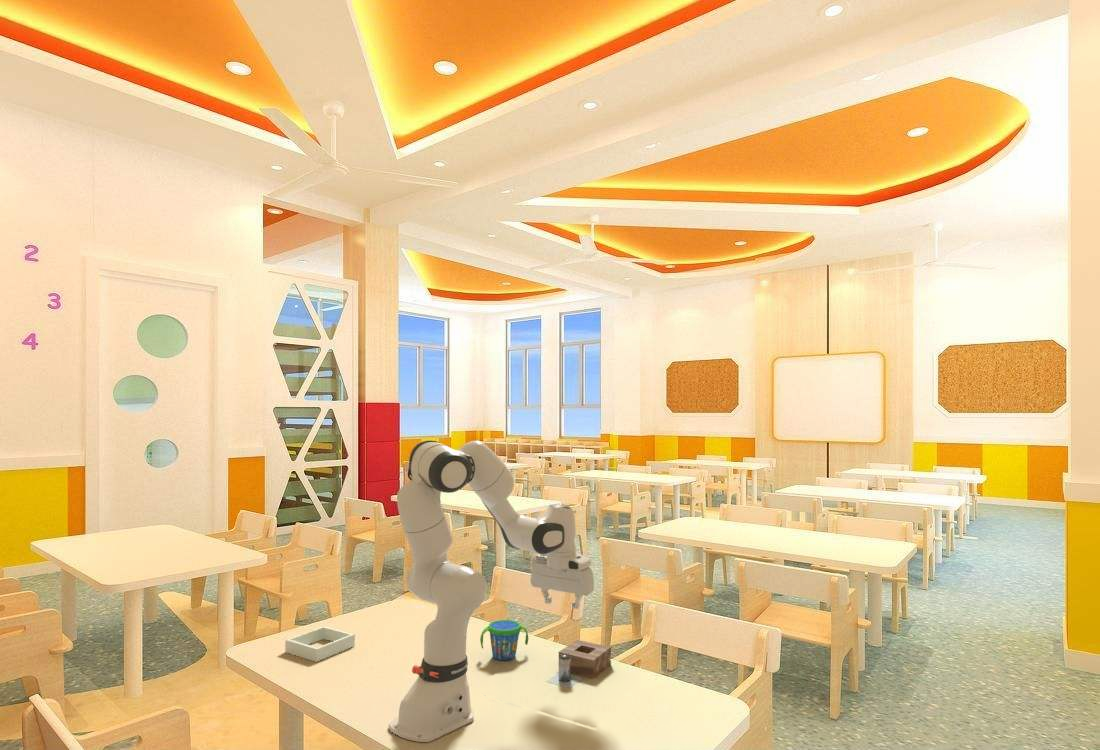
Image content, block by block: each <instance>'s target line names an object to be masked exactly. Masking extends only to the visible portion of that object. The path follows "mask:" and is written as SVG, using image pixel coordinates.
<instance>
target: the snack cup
mask: <svg viewBox="0 0 1100 750" xmlns="http://www.w3.org/2000/svg"><path fill="white" fill-rule="evenodd" d="M522 629H523V630H524V632H525V641H524V643H525V645H526V646H527V645H528V643H529V633H528V630H527V629H526V627H525V626H524V625H522V624H521V623H519V622H518V621H516V620H511V619H499V620H494V621H491V622H490V623H489V624H488V626H486V627H485V628H483V630H482V632H481V634H480V639H479V642H480V646H481V649H484V645H483V643H484V634H485V633H487V632H489V637H490V638H489V640H490V646H491V647H490V648H491V653H492V654H491V656H492V658H494V660H499V661H508V660H513V659H514V658H515V657H516V655H517V649H518V644H519V643H518V641H519V638H520V637H519V636H520V632H521V630H522Z"/></svg>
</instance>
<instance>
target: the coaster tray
mask: <svg viewBox="0 0 1100 750" xmlns="http://www.w3.org/2000/svg"><path fill="white" fill-rule="evenodd" d="M355 637H356V634H354V633H351V632H347V631H345V630H344V631H343V630H340V629H336V628H333V627H330V626H325V625H324V626H320V627H317V628H315V629H312V630H310V631H306V632H304V633H301V634H298V635H295V636H292V637H289V638H287V639H285V640H284V641H285V642H284V643H285V644H284V646H285V647H284V649H285V650H284V653H287V654H289V653H290V655H293V656H295V655H296V656H295V657H298V656H299V658H301V659H302V658H303V659H305V658H306V660H308V659H309V661H311V660H312V661H311V662H314V661H316V662H315V663H317V661H318V662H320V660H321V661H323V660H326V659H328V658H330V657H332V655H333V656H335V655H337V654H340V653H342V652H344V650H345V651H347V650H349V649H348V648H350V649H352V648H355V645H356V642H355V639H356V638H355ZM325 639H326V641H328V640H330V642H328V643H326V644H323V645H320V646H318V647H316V646H313V645H312V644H314V643H317V642H320V641H322V640H325ZM332 641H333V642H332ZM311 643H312V644H311ZM351 647H352V648H351ZM346 649H347V650H346ZM341 651H342V652H341ZM339 652H340V653H339ZM334 654H335V655H334ZM329 656H330V657H329ZM327 657H328V658H327ZM322 659H323V660H322Z"/></svg>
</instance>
